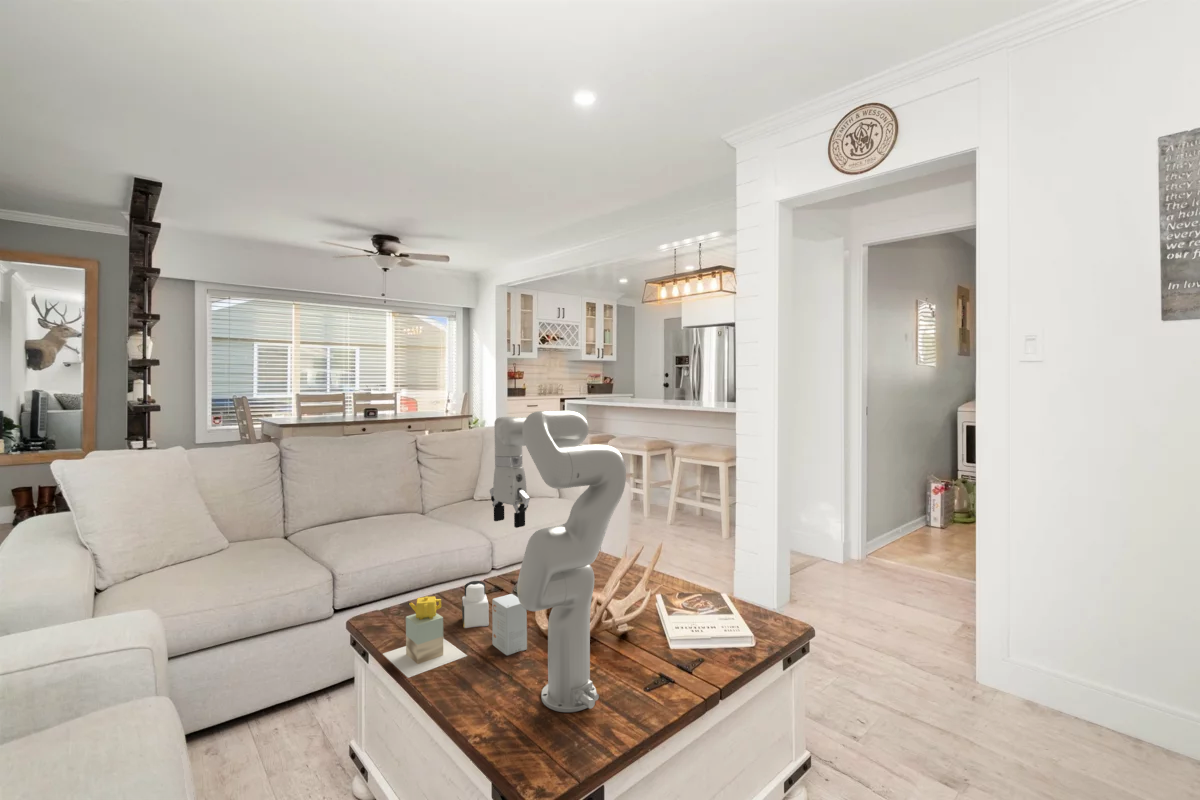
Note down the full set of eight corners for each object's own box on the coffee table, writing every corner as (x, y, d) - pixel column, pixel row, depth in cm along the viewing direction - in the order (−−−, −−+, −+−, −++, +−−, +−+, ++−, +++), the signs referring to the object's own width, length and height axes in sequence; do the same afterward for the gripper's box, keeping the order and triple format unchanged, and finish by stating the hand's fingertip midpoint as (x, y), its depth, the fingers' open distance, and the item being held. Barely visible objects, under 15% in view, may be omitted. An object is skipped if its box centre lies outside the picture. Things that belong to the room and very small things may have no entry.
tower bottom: (443, 655, 146) (443, 636, 145) (417, 664, 141) (417, 644, 141) (431, 645, 151) (431, 627, 151) (406, 654, 146) (405, 635, 146)
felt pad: (467, 657, 145) (467, 655, 145) (408, 679, 135) (408, 677, 134) (439, 636, 157) (439, 634, 157) (382, 655, 146) (382, 653, 146)
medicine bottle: (462, 619, 168) (461, 580, 168) (486, 616, 170) (485, 577, 170) (463, 629, 161) (463, 588, 161) (488, 626, 164) (488, 585, 163)
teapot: (408, 623, 141) (408, 603, 141) (410, 614, 147) (409, 595, 147) (441, 620, 143) (440, 600, 143) (441, 611, 149) (441, 592, 149)
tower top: (443, 636, 145) (443, 617, 145) (417, 644, 141) (417, 625, 141) (431, 627, 151) (430, 609, 150) (406, 635, 146) (405, 616, 146)
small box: (527, 649, 149) (527, 601, 149) (506, 657, 145) (506, 608, 145) (512, 638, 156) (511, 592, 155) (491, 645, 152) (491, 598, 151)
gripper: (538, 463, 150) (539, 526, 150) (502, 457, 162) (502, 516, 163) (516, 466, 144) (516, 532, 145) (479, 460, 157) (480, 520, 157)
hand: (509, 523), depth 154 cm, fingers open, 9 cm apart
